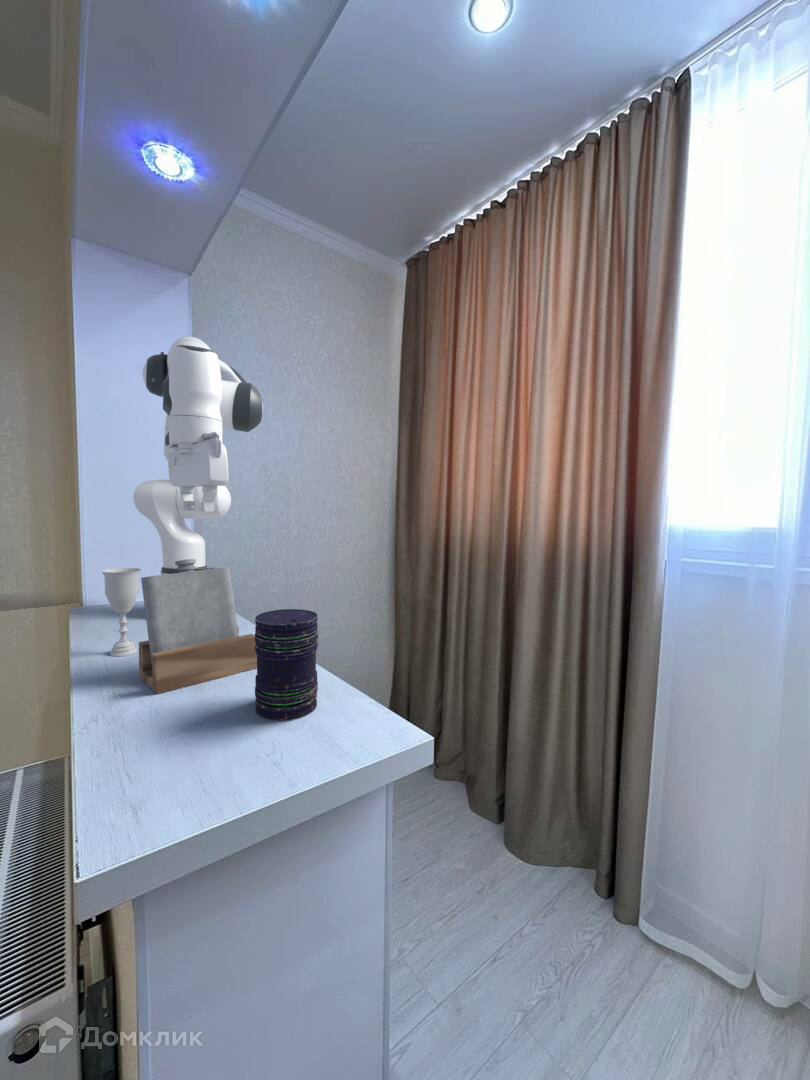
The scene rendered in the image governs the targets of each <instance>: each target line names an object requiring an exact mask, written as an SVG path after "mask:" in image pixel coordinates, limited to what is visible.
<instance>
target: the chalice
mask: <svg viewBox="0 0 810 1080" xmlns="http://www.w3.org/2000/svg"><path fill="white" fill-rule="evenodd" d="M141 570H142V569H141V568H138V567H119V568H118V567H116V568H107V569H106V568H105V569H102V570H101V573H102V575H103V576H104V594H105V597H106V599H107V601H108V603H109V605H110V606H111V608H112V609H113V611H114V612H115V613H117V614H119V617H120V618H119V621H118V624H119V625H120V626H119V627H120V628H119V630H118V633H120V638H119V640H118V641H116V642H115V643H114V644H113V647H112V648H111V652H110V653H109V656H110V657H126V656H130V655H134V654H136V653H137V652H138V649H137V648H136V645H135V644H134V643H135V642H133V641H132V640H129V639H128V638H127V632H128V631H129V629H128V628H127V627H126V625H127V623H128V620H127V618H126V615H127V613H129V612H131V610H132V609H133V606H134V604H135V602H136V601H137V599H138V598H137V597H138V595H139V592H140V584H139V583H140V582H139V581H140V580H139V578H140V577H139V574H140V573H141Z"/></svg>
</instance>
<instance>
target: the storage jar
mask: <svg viewBox="0 0 810 1080" xmlns="http://www.w3.org/2000/svg"><path fill="white" fill-rule="evenodd" d="M318 619H319V617H318V613H317V612H314V611H312V610H308V609H298V608H297V609H294V608H293V609H292V608H289V609H288V608H287V609H286V608H285V609H275V610H270V611H264V612H262V613H259V614H256V616H255V617H254V622H255V629H254V630H255V631H254V632H255V633H254V635H255V652H256V654H257V669H256V675H255V685H254V697H255V703H256V705H255V714H256V715H257V716H258V717H259V718H261V719H263V720H267V721H272V722H287V721H293V720H299V719H302V718H303V717H306V716H309V715H310V714H312V713H313V712H314V711H315V710H316V709H317V707H318V701H317V699H318V698H317V697H318V689H319V685H318V684H319V683H318V671H317V663H316V662H317V650H318V646H319V642H318V641H319V640H318V639H319V630H318Z"/></svg>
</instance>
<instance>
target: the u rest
mask: <svg viewBox="0 0 810 1080" xmlns="http://www.w3.org/2000/svg"><path fill="white" fill-rule="evenodd" d="M237 627H238V626H237ZM239 630H240V628H239V627H238V634H239ZM138 667H139V669H138V670H139V677H140V679H142V680H143V682H145V683H147V684H148V685H149V686H150V687H151V688H152V689H151V688H150V687H149V686H148V685H147V684H146V685H147V686H148V687H149V688H150V689H151V690H152V691H153V692H154V693H155V694H156V695H161V694H164V693H167V692H166V691H168V692H170V691H169V690H172V691H174V690H173V689H176V690H178V688H180V689H183V688H182V687H184V688H187V687H190V685H191V686H194V684H195V685H198V683H199V684H202V682H203V683H206V682H205V681H207V682H210V680H211V681H213V680H217V679H222V678H224V677H230V676H233V674H234V675H237V674H236V673H238V674H240V672H241V673H245V672H248V670H249V671H252V669H253V670H257V669H256V668H257V654H256V652H255V634H253V633H249V634H244V635H240V634H239V636H238V637H233V638H228V639H223V640H218V641H213V642H208V643H203V644H198V645H193V646H188V647H182V648H177V649H172V650H167V651H162V652H157V653H152V662H151V654H150V646H149V639H148V640H142V641H138ZM244 671H245V672H244ZM229 675H230V676H229ZM186 686H187V687H186ZM163 692H164V693H163Z"/></svg>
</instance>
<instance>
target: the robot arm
mask: <svg viewBox="0 0 810 1080" xmlns="http://www.w3.org/2000/svg"><path fill="white" fill-rule="evenodd" d="M142 378H143V383H144V384H145V386H146V390H148V392H149V393H150V394H152V395H155V396H158V397H161V398H162V410H163V411H164V412H165V413H166V416H165V417H166V418H165V423H164V441H163V456H164V458H165V459H166V461H167V465H168V468H167V469H168V476H169V477H168V478H169V479H154V480H152V479H151V480H148V481H147V480H146V481H142V482H140V483H139V484H138V485H137V486H136V487H135V489H134V492H133V496H132V497H133V504H134V506H135V508H136V510H137V511H138V512H139V513H140V514H141V515H142V516H144V517H145V518H146V519H148V520H149V522H151V524H152V525H153V526H154V528H155V530H156V532H157V533H158V535H159V539H160V542H161V551H162V567H161V571H160V575H166V574H174V573H178V572H179V571H177V568H178V566H175V562H176V561H180V560H186V559H195V560H196V563H194V566H196V568H208V565H207V564H206V541H205V539H204V538H203V536H202V535H201V534H200V533H197V532H196V531H193V530H192V529H190V528H189V527H188V526H187V525H186V522H185V519H193V520H194V519H195V520H197V519H198V520H201V519H202V520H209V519H215V518H219V517H224V516H225V515H226V514H227V513H228V512H229V510H230V508H231V505H232V497H231V493H230V490H229V488H227V486H228V481H229V476H230V475H229V462H228V461H229V459H228V453H227V452H228V451H227V448H226V446H225V444H223V442H224V441H223V438H224V437H223V429H226V430H234V431H238V432H245V433H249V432H251V431H253V430H254V429H256V428H257V427H258V426H259V425H260V424H261V423H262V420H263V419H262V418H263V414H264V413H263V412H264V405H263V399H262V395H261V393H260V391H259V390H258V389H257V388H256V387H255V386H254V384H253V383H250V382H247V381H246V380H245V379H244V378H243V376H242V375H241V374H240V373H239V372H238V371H237V370H236V369H235V368H233V367H232V366H230V365H229V364H227V363H225V362H224V361H222V360H221V359H219V357H218V354H217V353H216V352H214V351H213V350H212V349H211V348H210V347H209V345H208V344H206V342H204V341H203V340H201V339H200V338H197V337H194V336H189V335H188V336H182V337H179V338H177V339H176V340H175V341H174V342H173V343H172V344H171V346H170V347H169V350H168V353H167V354H165V352H164V351H160V354H153V355H151V356H149V357H148V358H146V361H145V362H144V365H143V368H142ZM201 570H207V569H201ZM195 571H199V570H195Z"/></svg>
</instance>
